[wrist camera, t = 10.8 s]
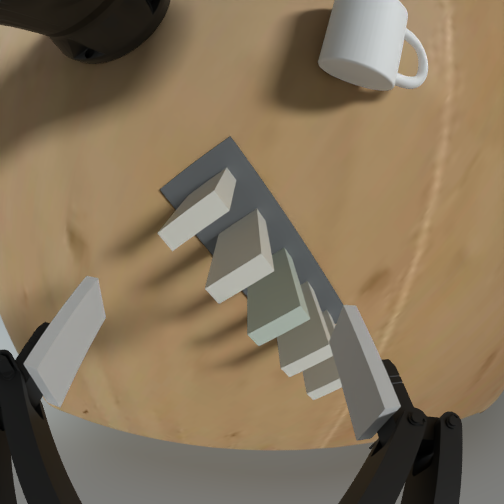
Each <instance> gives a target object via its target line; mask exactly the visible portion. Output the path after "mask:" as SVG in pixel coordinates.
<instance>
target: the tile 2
mask: <svg viewBox="0 0 504 504" xmlns="http://www.w3.org/2000/svg"><path fill="white" fill-rule="evenodd" d="M273 271H274V265H273V259H272V253H271V248H270V242H269V237H268V231H267V225H266V221H265V219H264V218H263V216H262V215H261V214H260V212H259V211H258V209H255V210H254V211H252V212H251V213H249V214H248V215H246V216H245V217H243V218H242V219H240V220H239V221H237V222H236V223H234V224H233V225H231V226H230V227H228V228H227V229H225V230H224V231H223V232H221V233H220V234H219V235H218V239H217V243H216V247H215V251H214V254H213V258H212V262H211V266H210V270H209V274H208V278H207V282H206V286H205V289H206V290H207V291H208V292H209V294H210V295H211V296H212V297H213V298H214V299H215V300H216V301H217V302H218V304H219V303H221V302H223V301H225V300H226V299H228V298H230V297H231V296H233V295H235V294H237V293H238V292H240V291H242V290H243V289H245V288H247V287H248V286H250V285H252V284H253V283H255V282H257V281H258V280H260V279H262V278H263V277H265V276H267V275H268V274H270V273H272V272H273Z"/></svg>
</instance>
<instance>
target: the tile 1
mask: <svg viewBox="0 0 504 504" xmlns="http://www.w3.org/2000/svg"><path fill="white" fill-rule="evenodd" d="M235 184H236V179H235V178H234V176H233V175H232V174H231V172H230V171H229V170H228V168H225V169H224V170H222V171H221V172H219V173H218V174H217V175H215V176H214V177H212V178H211V179H210V180H208V181H207V182H206V183H204V184H203V185H202V186H200V187H199V188H197V189H196V190H195V191H193V192H192V193H191V194H189V195H188V196H187V198H186V199H185V200H184V201H183V202H182V203H181V205H180V206H179V207H178V208H177V209H176V211H175V212H174V213H173V214H172V216H171V217H170V218H169V219H168V220H167V222H166V223H165V224H164V225H163V227H162V228H161V229H160V230H159V232H158V234H159V236H160V237H161V238H162V239H163V240H164V242H165V243H166V244H167V245H168V246H169V248H170V249H171V250H172V251H173V250H175V249H176V248H177V247H179V246H180V245H182V244H183V243H184V242H186V241H187V240H189V239H190V238H191V237H193V236H194V235H196V234H197V233H198V232H200V231H201V230H203V229H204V228H205V227H207V226H208V225H210V224H211V223H213V222H214V221H215V220H217V219H218V218H220V217H221V216H223V215H224V214H226V213H227V212H228V211H230V206H231V202H232V197H233V193H234V188H235Z"/></svg>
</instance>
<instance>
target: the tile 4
mask: <svg viewBox="0 0 504 504" xmlns="http://www.w3.org/2000/svg"><path fill="white" fill-rule="evenodd" d="M300 286H301V289H302V292H303V296H304V299H305V302H306V306H307V309H308V312H309V316H310V320H308V321H306V322H304V323H302V324H301V325H299V326H297V327H295V328H293V329H291V330H289V331H287V332H286V333H284V334H282V335H280V336H278V337H277V342H278V350H279V359H280V367H281V369H282V370H283V371H284V372H285V373H286V374H287V375H288V376H289V377H291V376H293V375H295V374H297V373H299V372H302V371H304V370H306V369H308V368H310V367H312V366H314V365H316V364H318V363H320V362H322V361H324V360H326V359H328V358H330V357H332V356H333V354H332V350H331V347H330V344H329V340H330V338H331V337H330V334H329V331H328V328H327V326H326V323H325V320H324V317H323V314H322V311H321V309H320V306H319V303H318V300H317V298H316V295H315V292H314V290H313V288H312V287H311V285H310V284H309V282H308V281H306V282H305V283H303V284H301V285H300Z"/></svg>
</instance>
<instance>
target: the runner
mask: <svg viewBox="0 0 504 504" xmlns="http://www.w3.org/2000/svg"><path fill="white" fill-rule="evenodd" d="M225 168H228V170H229V171H230V172H231V174H232V175H233V176H234V178H235V179H236V184H235V188H234V193H233V197H232V202H231V206H230V211H228V212H227V213H226V214H224V215H223V216H221V217H220V218H218V219H217V220H215V221H214V222H213V223H211V224H210V225H208V226H207V227H205V228H204V229H203V230H201V231H200V232H198V233H197V234H196V236H197V237H198V238H199V239H200V241H201V242H202V243H203V244H204V245H205V247H206V248H207V249H208V250H209V252H210V253H211V254H212V255H213V254H214V251H215V247H216V243H217V239H218V235H219V234H220V233H221V232H223V231H224V230H225V229H227V228H228V227H230V226H231V225H233V224H234V223H236V222H237V221H239V220H240V219H242V218H243V217H245V216H246V215H248V214H249V213H251V212H252V211H254V210H255V209H258V211H259V212H260V214H261V215H262V216H263V218H264V219H265V221H266V225H267V231H268V237H269V242H270V248H271V253H272V255H273V254H275V253H276V252H278V251H279V250H281V249H283V248H285V249H286V250H287V252H288V253H289V255H290V256H291V258H292V260H293V263H294V266H295V269H296V273H297V276H298V279H299V282H300V285H301V284H303V283H305V282H306V281H308V282H309V284H310V285H311V287H312V288H313V290H314V292H315V295H316V298H317V300H318V303H319V306H320V309H321V311H322V312H324V311H325V310H327V311H328V312H329V314H330V315H331V317H332V319H333V321H334V324H336V323H337V321H338V318H339V315H340V313H341V310H342V308H343V304H342V302H341V300H340V299H339V297H338V295H337V294H336V292H335V290H334V289H333V287H332V286H331V284H330V282H329V281H328V279H327V278H326V276H325V274H324V273H323V271H322V270H321V268H320V266H319V265H318V263H317V262H316V260H315V259H314V257H313V255H312V254H311V252H310V251H309V249H308V248H307V246H306V245H305V243H304V242H303V240H302V238H301V237H300V235H299V234H298V232H297V231H296V229H295V228H294V226H293V225H292V223H291V222H290V220H289V219H288V217H287V216H286V214H285V213H284V211H283V210H282V208H281V207H280V206H279V204H278V203H277V201H276V200H275V198H274V197H273V195H272V194H271V192H270V191H269V190H268V188H267V187H266V185H265V184H264V182H263V181H262V179H261V178H260V177H259V175H258V174H257V172H256V171H255V170H254V168H253V167H252V165H251V164H250V163H249V161H248V160H247V158H246V157H245V156H244V154H243V153H242V151H241V150H240V149H239V147H238V146H237V145H236V143H235V142H234V141H233V139H232V138H231V136H230V137H229V138H227V139H226V140H224V141H223V142H221V143H220V144H219V145H217V146H216V147H214V148H213V149H212V150H210V151H209V152H208V153H206V154H205V155H203V156H202V157H201V158H199V159H198V160H197V161H195V162H194V163H193V164H191V165H190V166H189V167H188V168H186V169H185V170H184V171H182V172H181V173H180V174H179V175H177V176H176V177H175V178H174V179H172V180H171V181H170V182H169V183H167V184H166V185H165V186H164V187H162V188H161V189H160V190H161V192H162V193H163V194H164V195H165V197H166V198H167V199H168V200H169V202H170V203H171V204H172V206H173V207H174V208H175V209H177V208H178V207H179V206H180V205H181V203H182V202H183V201H184V200H185V199H186V198H187V196H188V195H189V194H191V193H192V192H193V191H195V190H196V189H197V188H199V187H200V186H202V185H203V184H204V183H206V182H207V181H208V180H210V179H211V178H212V177H214V176H215V175H217V174H218V173H219V172H221V171H222V170H224V169H225ZM242 291H243V292H244V294H245V295H246V296H247V288H245V289H243V290H242Z"/></svg>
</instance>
